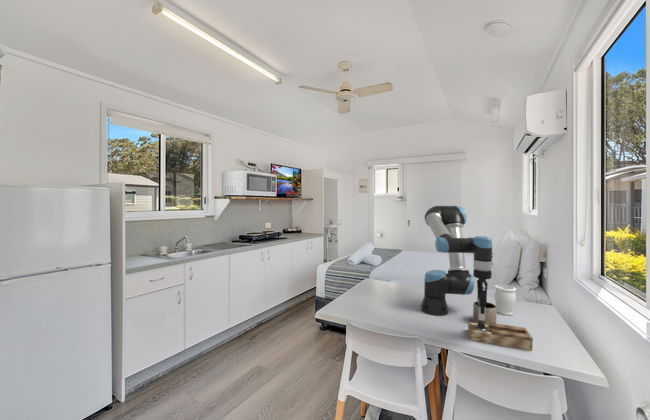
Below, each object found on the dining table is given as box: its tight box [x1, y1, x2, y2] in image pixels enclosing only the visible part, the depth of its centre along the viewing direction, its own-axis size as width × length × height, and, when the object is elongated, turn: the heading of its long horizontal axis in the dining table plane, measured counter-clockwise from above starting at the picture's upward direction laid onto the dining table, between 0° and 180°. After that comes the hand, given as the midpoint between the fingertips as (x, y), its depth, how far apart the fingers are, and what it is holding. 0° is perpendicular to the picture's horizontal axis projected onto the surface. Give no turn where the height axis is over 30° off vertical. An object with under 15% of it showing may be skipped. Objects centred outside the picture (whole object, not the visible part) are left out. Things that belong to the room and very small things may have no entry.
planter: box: [472, 300, 497, 325], centre depth 151 cm, size 11×11×10 cm
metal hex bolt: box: [475, 297, 487, 331], centre depth 135 cm, size 5×5×16 cm
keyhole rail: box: [467, 321, 534, 351], centre depth 132 cm, size 24×11×5 cm, turn 68°
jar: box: [494, 284, 517, 316], centre depth 165 cm, size 11×10×15 cm
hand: (481, 318), depth 135 cm, fingers closed on metal hex bolt, 3 cm apart
